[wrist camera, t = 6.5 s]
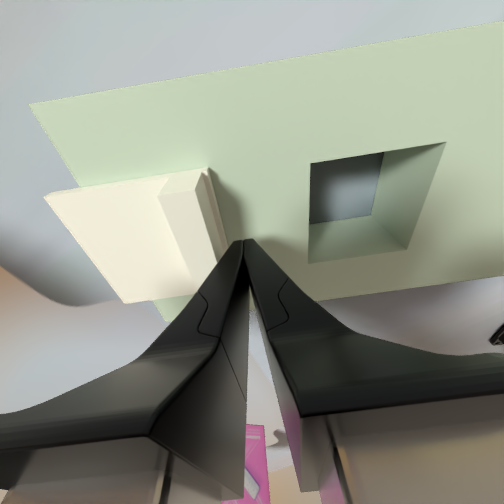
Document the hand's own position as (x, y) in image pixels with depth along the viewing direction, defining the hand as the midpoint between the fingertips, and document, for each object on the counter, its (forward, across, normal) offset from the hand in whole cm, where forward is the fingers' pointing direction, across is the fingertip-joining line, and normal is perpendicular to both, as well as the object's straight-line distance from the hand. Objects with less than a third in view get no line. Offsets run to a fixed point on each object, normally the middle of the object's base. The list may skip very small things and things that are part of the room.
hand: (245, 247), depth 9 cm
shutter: (+1, +4, 0) cm, 4 cm away
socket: (+5, -6, 0) cm, 8 cm away
